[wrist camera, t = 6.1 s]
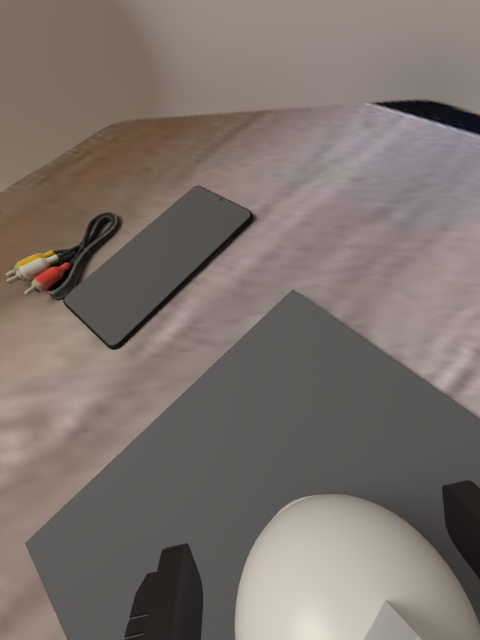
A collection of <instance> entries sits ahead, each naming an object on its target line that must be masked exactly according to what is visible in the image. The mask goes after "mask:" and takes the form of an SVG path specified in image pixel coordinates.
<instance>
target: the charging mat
mask: <svg viewBox="0 0 480 640" xmlns="http://www.w3.org/2000/svg"><path fill="white" fill-rule="evenodd" d="M465 480H470V481H472V482H474V483H475V484H476V485H477V486H478V487H479V488H480V418H478V417H477V416H475V415H474V414H472V413H471V412H469V411H468V410H467V409H465V408H464V407H462V406H461V405H459V404H458V403H456V402H455V401H454V400H452V399H451V398H449V397H448V396H446V395H445V394H443V393H442V392H441V391H439V390H438V389H436V388H435V387H433V386H432V385H430V384H429V383H428V382H426V381H425V380H423V379H422V378H420V377H419V376H418V375H416V374H415V373H413V372H412V371H410V370H409V369H407V368H406V367H405V366H403V365H402V364H400V363H399V362H397V361H396V360H394V359H393V358H392V357H390V356H389V355H387V354H386V353H384V352H383V351H381V350H380V349H379V348H377V347H376V346H374V345H373V344H371V343H370V342H368V341H367V340H366V339H364V338H363V337H361V336H360V335H358V334H357V333H355V332H354V331H353V330H351V329H350V328H348V327H347V326H345V325H344V324H342V323H341V322H340V321H338V320H337V319H335V318H334V317H332V316H331V315H329V314H328V313H327V312H325V311H324V310H322V309H321V308H319V307H318V306H316V305H315V304H314V303H312V302H311V301H309V300H308V299H306V298H305V297H303V296H302V295H301V294H299V293H298V292H296V291H295V290H292V291H291V292H290V293H288V294H287V295H286V296H285V297H284V298H283V299H282V300H281V301H280V302H279V303H278V304H277V305H276V306H275V307H274V308H273V309H272V310H271V311H269V312H268V313H267V314H266V315H265V316H264V317H263V318H262V319H261V320H260V321H259V322H258V323H257V324H256V325H255V326H254V327H253V328H252V329H251V330H249V331H248V332H247V333H246V334H245V335H244V336H243V337H242V338H241V339H240V340H239V341H238V342H237V343H236V344H235V345H234V346H233V347H232V348H230V349H229V350H228V351H227V352H226V353H225V354H224V355H223V356H222V357H221V358H220V359H219V360H218V361H217V362H216V363H215V364H214V365H213V366H211V367H210V368H209V369H208V370H207V371H206V372H205V373H204V374H203V375H202V376H201V377H200V378H199V379H198V380H197V381H196V382H195V383H194V384H193V385H191V386H190V387H189V388H188V389H187V390H186V391H185V392H184V393H183V394H182V395H181V396H180V397H179V398H178V399H177V400H176V401H175V402H174V403H172V404H171V405H170V406H169V407H168V408H167V409H166V410H165V411H164V412H163V413H162V414H161V415H160V416H159V417H158V418H157V419H156V420H155V421H154V422H152V423H151V424H150V425H149V426H148V427H147V428H146V429H145V430H144V431H143V432H142V433H141V434H140V435H139V436H138V437H137V438H136V439H135V440H133V441H132V442H131V443H130V444H129V445H128V446H127V447H126V448H125V449H124V450H123V451H122V452H121V453H120V454H119V455H118V456H117V457H116V458H114V459H113V460H112V461H111V462H110V463H109V464H108V465H107V466H106V467H105V468H104V469H103V470H102V471H101V472H100V473H99V474H98V475H97V476H96V477H94V478H93V479H92V480H91V481H90V482H89V483H88V484H87V485H86V486H85V487H84V488H83V489H82V490H81V491H80V492H79V493H78V494H77V495H75V496H74V497H73V498H72V499H71V500H70V501H69V502H68V503H67V504H66V505H65V506H64V507H63V508H62V509H61V510H60V511H59V512H58V513H57V514H55V515H54V516H53V517H52V518H51V519H50V520H49V521H48V522H47V523H46V524H45V525H44V526H43V527H42V528H41V529H40V530H39V531H38V532H36V533H35V534H34V535H33V536H32V537H31V538H30V539H29V540H28V541H27V542H26V543H25V544H26V547H27V549H28V551H29V553H30V556H31V558H32V560H33V562H34V565H35V567H36V569H37V572H38V574H39V576H40V578H41V581H42V583H43V585H44V587H45V590H46V592H47V594H48V596H49V599H50V601H51V603H52V606H53V608H54V610H55V612H56V615H57V617H58V619H59V621H60V624H61V626H62V628H63V631H64V633H65V635H66V637H67V640H125V632H126V628H127V624H128V621H129V620H130V613H131V609H132V605H133V601H134V597H135V594H136V592H137V590H138V589H139V587H140V585H141V583H142V582H143V580H144V578H145V576H146V574H148V573H152V572H156V571H157V569H158V564H159V560H160V555H161V552H162V550H163V549H164V548H167V547H172V546H176V545H180V544H185V543H188V545H189V547H190V549H191V552H192V555H193V558H194V560H195V563H196V566H197V569H198V571H199V574H200V577H201V581H202V586H203V616H202V631H201V640H235V610H236V600H237V594H238V588H239V583H240V580H241V576H242V572H243V569H244V565H245V563H246V560H247V558H248V555H249V553H250V551H251V549H252V547H253V545H254V543H255V541H256V540H257V538H258V536H259V535H260V534H261V532H262V531H263V529H264V528H265V527H266V525H267V524H268V523H269V522H270V521H271V520H272V519H273V517H274V516H275V515H276V514H277V513H278V512H279V511H280V510H281V508H282V507H284V506H285V505H286V504H287V503H289V502H291V501H292V500H294V499H297V498H300V497H305V496H314V495H324V494H341V495H349V496H354V497H358V498H362V499H364V500H367V501H370V502H373V503H375V504H378V505H380V506H382V507H384V508H385V509H387V510H389V511H391V512H393V513H394V514H396V515H397V516H399V517H400V518H402V519H403V520H405V521H406V522H407V523H408V524H410V525H411V526H412V527H413V528H414V529H416V530H417V531H418V532H419V533H420V534H421V535H422V536H423V537H424V538H425V539H426V540H427V541H428V542H429V543H430V544H431V545H432V546H433V547H434V548H435V550H436V551H437V552H438V553H439V554H440V556H441V557H442V558H443V559H444V561H445V562H446V563H447V564H448V566H449V567H450V569H451V570H452V572H453V573H454V575H455V576H456V578H457V579H458V581H459V582H460V584H461V586H462V588H463V590H464V592H465V593H466V595H467V597H468V599H469V601H470V603H471V605H472V607H473V610H474V612H475V614H476V617H477V619H478V621H479V624H480V579H479V578H478V577H477V575H476V574H475V573H474V571H473V570H472V569H471V567H470V566H469V565H468V563H467V562H466V560H465V559H464V558H463V556H462V555H461V554H460V552H459V551H458V550H457V548H456V547H455V545H454V544H453V542H452V540H451V538H450V536H449V534H448V531H447V529H446V525H445V517H444V506H443V495H442V487H443V486H444V485H447V484H452V483H456V482H460V481H465Z"/></svg>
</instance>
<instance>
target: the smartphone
mask: <svg viewBox="0 0 480 640" xmlns="http://www.w3.org/2000/svg"><path fill="white" fill-rule="evenodd" d="M252 221H253V214H252V212H251V211H250V210H248V209H246V208H244V207H242V206H240V205H238V204H236V203H234V202H232V201H230V200H227V199H225V198H223V197H221V196H219V195H217V194H215V193H213V192H211V191H209V190H207V189H205V188H203V187H201V186H195V187H193V188H192V189H191V190H189V191H188V192H187V193H186V194H185V195H183V196H182V197H181V198H180V199H179V200H178V201H176V202H175V203H174V204H173V205H172V206H171V207H169V208H168V209H167V210H166V211H165V212H164V213H162V214H161V215H160V216H159V217H158V218H156V219H155V220H154V221H153V222H152V223H151V224H149V225H148V226H147V227H146V228H145V229H144V230H142V231H141V232H140V233H139V234H138V235H137V236H135V237H134V238H133V239H132V240H131V241H130V242H128V243H127V244H126V245H125V246H124V247H122V248H121V249H120V250H119V251H118V252H117V253H115V254H114V255H113V256H112V257H111V258H110V259H108V260H107V261H106V262H105V263H104V264H103V265H101V266H100V267H99V268H98V269H97V270H95V271H94V272H93V273H92V274H91V275H90V276H88V277H87V278H86V279H85V280H84V281H83V282H81V283H80V284H79V285H78V286H77V287H76V288H74V289H73V290H72V291H71V292H70V293H69V294H67V295H66V296H65V298H64V300H63V302H64V304H65V306H66V307H67V308H68V309H69V310H70V311H71V312H72V313H73V314H74V315H75V316H76V317H78V318H79V319H80V320H81V321H82V322H83V323H84V324H85V325H86V326H87V327H88V328H89V329H90V330H91V331H92V332H93V333H94V334H95V335H96V336H97V337H98V338H99V339H100V340H101V341H102V342H103V343H104V344H105V345H106V346H107V347H108V348H110V349H113V350H115V349H118V348H120V347H121V346H122V345H123V344H124V343H125V342H126V341H128V340H129V339H130V338H131V337H132V336H133V335H134V334H135V333H136V332H137V331H138V330H139V329H140V328H141V327H142V326H143V325H144V324H145V323H146V322H147V321H148V320H150V319H151V318H152V317H153V316H154V315H155V314H156V313H157V312H158V311H159V310H160V309H161V308H162V307H163V306H164V305H165V304H166V303H167V302H168V301H169V300H170V299H172V298H173V297H174V296H175V295H176V294H177V293H178V292H179V291H180V290H181V289H182V288H183V287H184V286H185V285H186V284H187V283H188V282H189V281H190V280H191V279H192V278H193V277H195V276H196V275H197V274H198V273H199V272H200V271H201V270H202V269H203V268H204V267H205V266H206V265H207V264H208V263H209V262H210V261H211V260H212V259H213V258H215V257H216V256H217V255H218V254H219V253H220V252H221V251H222V250H223V249H224V248H225V247H226V246H227V245H228V244H229V243H230V242H231V241H232V240H234V239H235V238H236V237H237V236H238V235H239V234H240V233H241V232H242V231H243V230H244V229H245V228H246V227H247V226H248V225H249V224H250V223H251V222H252Z"/></svg>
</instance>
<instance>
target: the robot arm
mask: <svg viewBox="0 0 480 640" xmlns="http://www.w3.org/2000/svg"><path fill="white" fill-rule="evenodd" d="M442 495H443V506H444V517H445V525H446V529H447V531H448V534H449V536H450V538H451V540H452V542H453V544H454V545H455V547H456V548H457V550H458V551H459V552H460V554H461V555H462V556H463V558H464V559H465V560H466V562H467V563H468V565H469V566H470V567H471V569H472V570H473V571H474V573H475V574H476V575H477V577H478V578H479V579H480V488H479V487H478V486H477V485H476V484H475V483H474V482H472V481H470V480H465V481H460V482H456V483H452V484H447V485H444V486H443V487H442ZM202 616H203V586H202V581H201V577H200V574H199V571H198V569H197V566H196V563H195V560H194V558H193V555H192V552H191V549H190V547H189V545H188V543H185V544H180V545H176V546H172V547H167V548H164V549H163V550H162V552H161V555H160V560H159V564H158V569H157V571H156V572H152V573H148V574H146V576H145V578H144V580H143V582H142V583H141V585H140V587H139V589H138V590H137V592H136V594H135V597H134V601H133V605H132V609H131V613H130V620H129V621H128V624H127V628H126V632H125V640H201V631H202Z"/></svg>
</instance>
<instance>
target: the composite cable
mask: <svg viewBox="0 0 480 640" xmlns="http://www.w3.org/2000/svg"><path fill="white" fill-rule="evenodd" d="M106 222H112V223H111V225H110V226H109V227H108V228H107V230H106V231H104V232H103V233H102V234H101V235H100V236H98V237H97V238H96V236H97V234H98V232H99V230H100V228H101V227H102V226H103V225H104V224H105V223H106ZM118 225H119V221H118V218H117V216H116V215H115V214H114V213H111V212H106V213H102V214H100V215H98V216H96V217H95V218H93V219H92V220H91V221H90V222H89V224H88V226H87V229H86V232H85V235H84V238H83V240H82V241H81V243H80V244H79V245H77V246H75V247H73V248H71V249H62V250H56V251H54V250H51V251H49V252H47V253H45V254H40V253H37V254H34V255H32V256H30V257H27V258H25V259H23V260H21V261H18V262H17V264H16V265H15V269H14V270H12V271H10V272H8V273H6V276H7V277H9V279H7V283H9V284H10V283H13V282H15V281H17V280H22V281H26V280H32V279H34V280H33V281H32V282H31V283H32V284H30V286H31V288H29V289H27V290H26V291H25V292H24V294H25V295H30V294H31V293H32V292H34V291H35V290H37V291H38V292H41V291H43V290H44V291H47V293H48V294H49V295H51V296H52V297H53V298H54V299H56V300H58V299H62V298H64V297H65V296H66V295H67V294H69V292H70V291H71V290H72V289H73V288H74V286H75V284H76V282H77V280H78V278H79V275H80V273H81V271H82V269H83V267H84V265H85V263H86V261H87V260H88V258H89V257H90V256H91V255H92V254H93V253H94V252H95V251H96V250H97V249H98V248H99V247H100V246H101V245H102V244H104V243H105V242H106V241H107V240H108V239H109V238H110V237H111V236H112V235H113V234H114V233H115V231H116V230H117V228H118ZM95 238H96V239H95ZM59 253H61V254H60V255H57V254H59ZM70 271H71V272H70ZM69 272H70V274H69V277H68V278H67V279H66V281H65V282H64V283H63V284H62V285H61V286H60V287H59V288H57V285H58V284H59V282H60V281H61V280H62V279H63V278H64V277H65V276H66V275H67V274H68V273H69ZM56 288H57V289H56Z"/></svg>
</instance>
